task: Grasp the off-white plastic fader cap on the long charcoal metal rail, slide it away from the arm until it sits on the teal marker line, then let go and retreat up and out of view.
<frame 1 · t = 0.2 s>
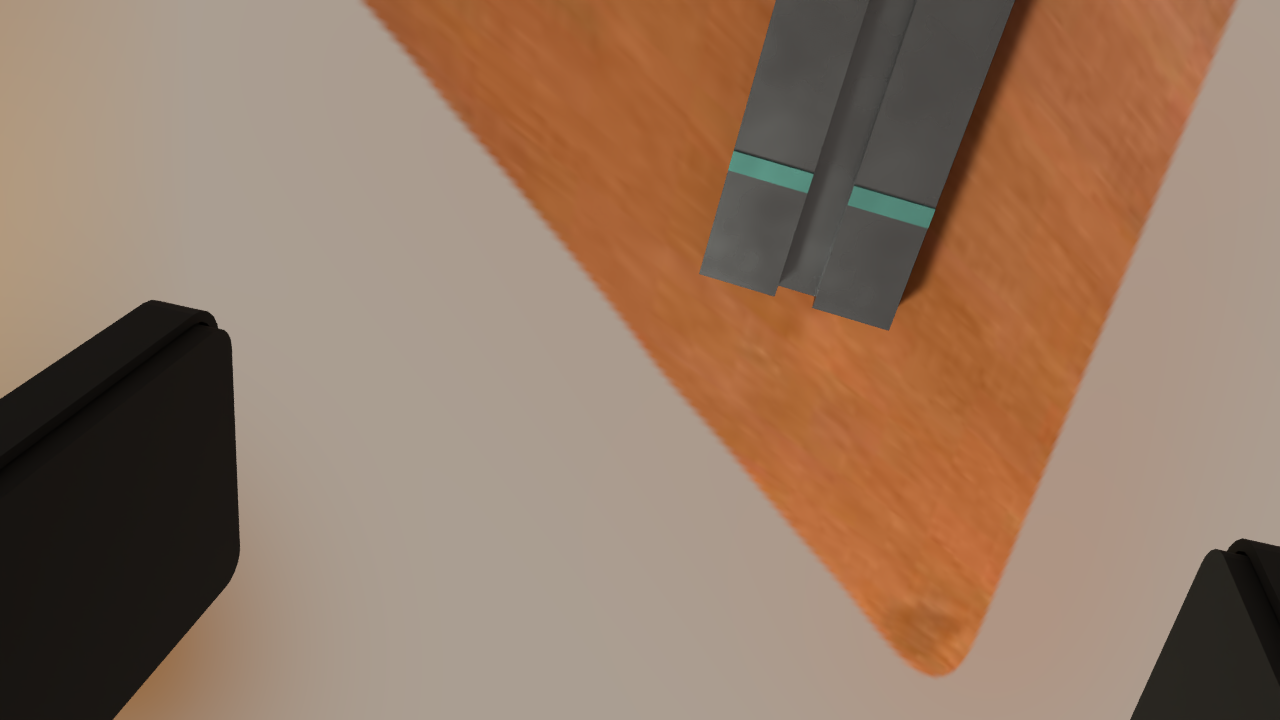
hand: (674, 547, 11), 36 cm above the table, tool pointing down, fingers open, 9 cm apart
fader housing: (882, 26, 42), on the table
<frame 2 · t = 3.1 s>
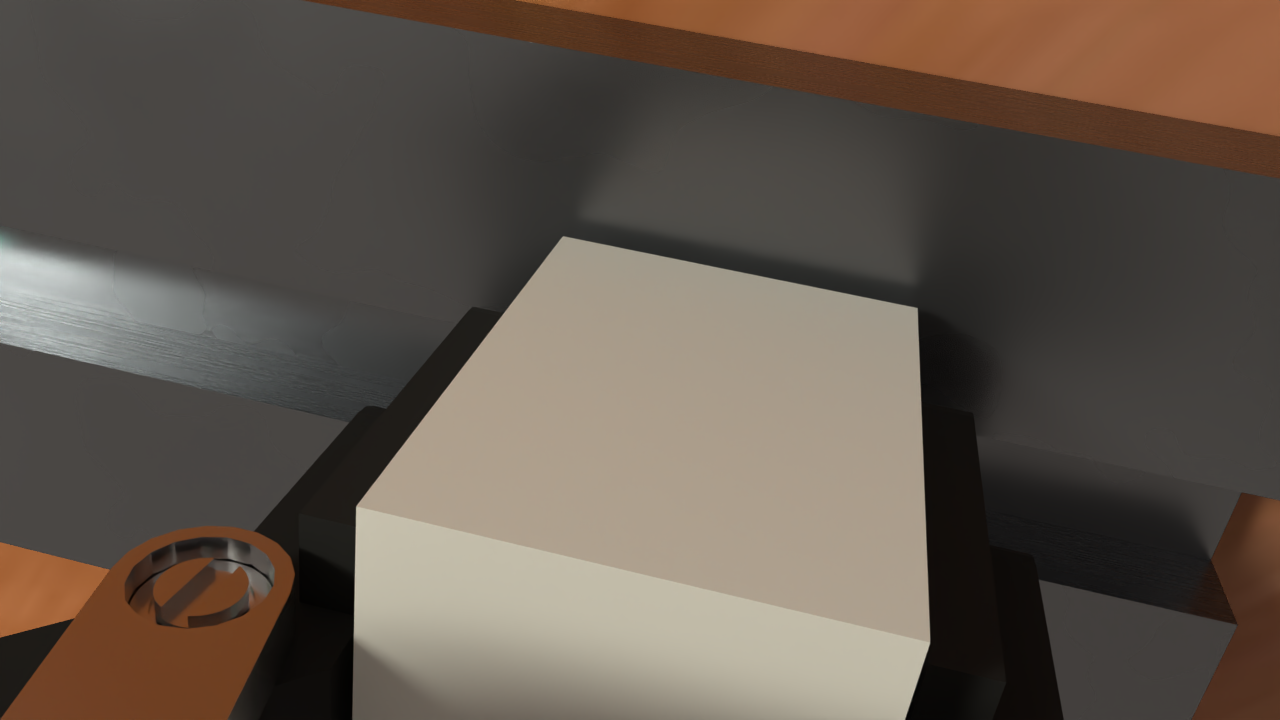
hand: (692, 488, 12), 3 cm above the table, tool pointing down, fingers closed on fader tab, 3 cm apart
fader housing: (351, 290, 15), on the table
fader tab: (671, 559, 11), point 4 cm above the table, slide at 0.0 cm, touching gripper
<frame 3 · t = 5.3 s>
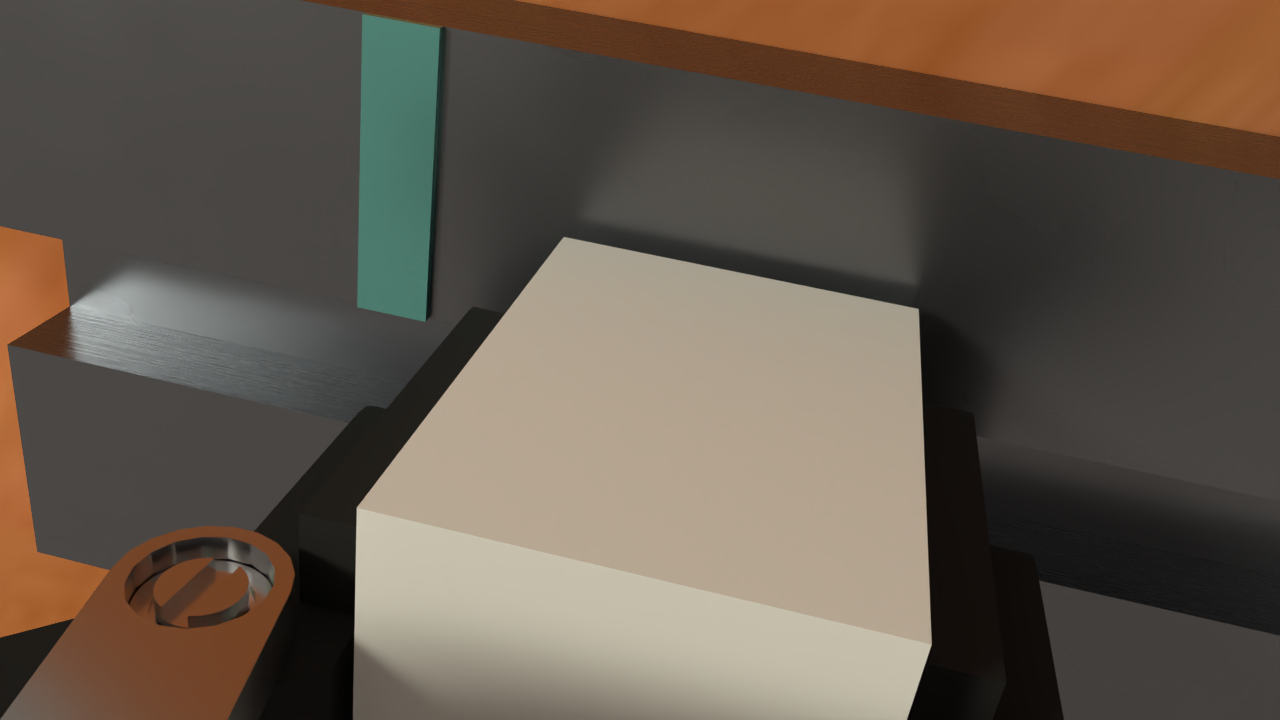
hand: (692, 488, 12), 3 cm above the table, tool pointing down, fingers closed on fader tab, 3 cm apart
fader housing: (913, 410, 14), on the table
fader tab: (672, 560, 11), point 4 cm above the table, slide at 7.3 cm, touching gripper
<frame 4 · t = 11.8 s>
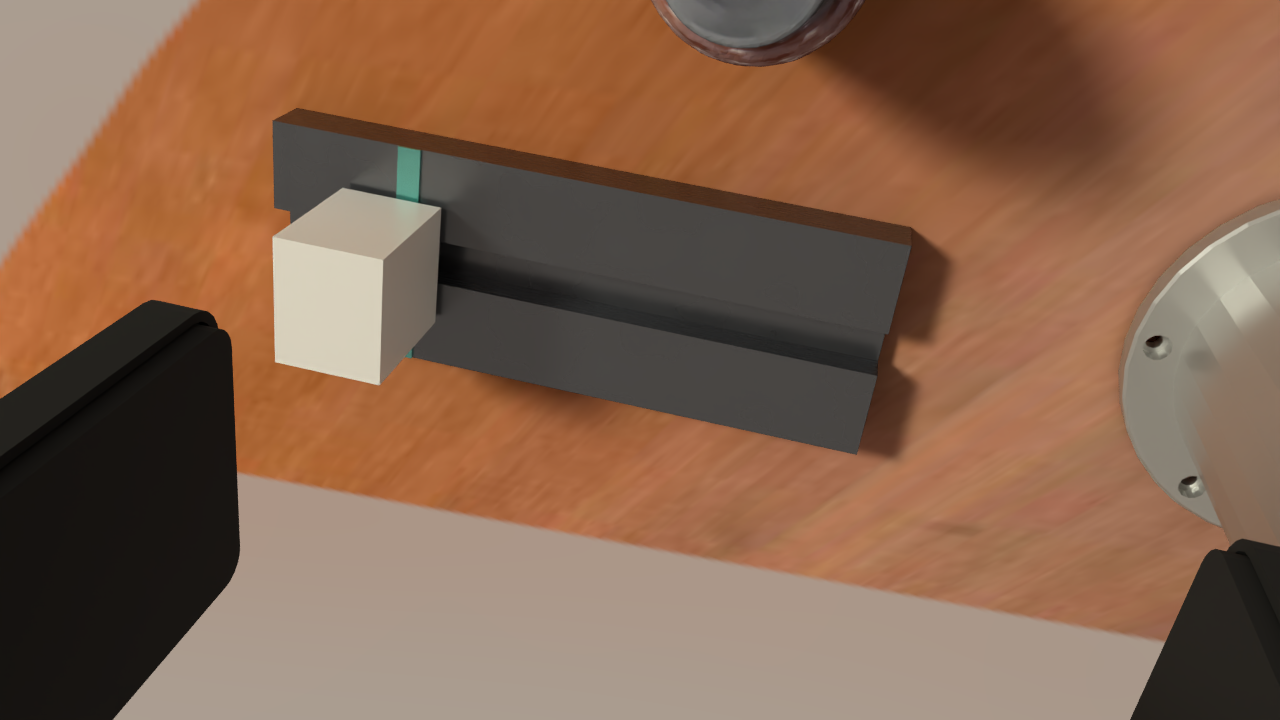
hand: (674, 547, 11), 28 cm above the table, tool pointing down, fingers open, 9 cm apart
fader housing: (581, 271, 41), on the table
fader tab: (367, 276, 38), point 4 cm above the table, slide at 11.5 cm
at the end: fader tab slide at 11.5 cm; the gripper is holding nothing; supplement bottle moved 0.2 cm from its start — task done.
